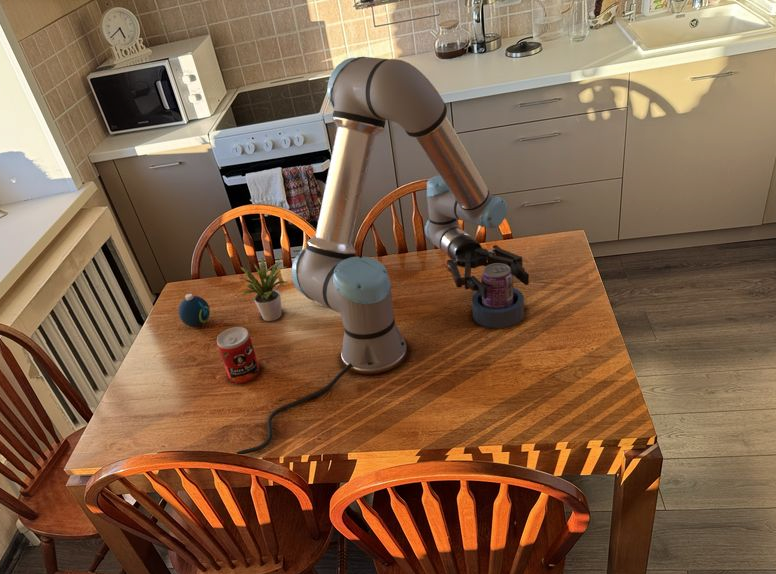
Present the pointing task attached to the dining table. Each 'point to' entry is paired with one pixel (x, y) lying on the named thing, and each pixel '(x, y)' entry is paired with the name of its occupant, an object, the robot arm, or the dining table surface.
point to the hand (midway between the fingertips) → (506, 286)
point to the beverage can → (497, 286)
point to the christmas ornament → (194, 311)
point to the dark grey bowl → (498, 312)
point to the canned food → (238, 354)
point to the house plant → (266, 291)
